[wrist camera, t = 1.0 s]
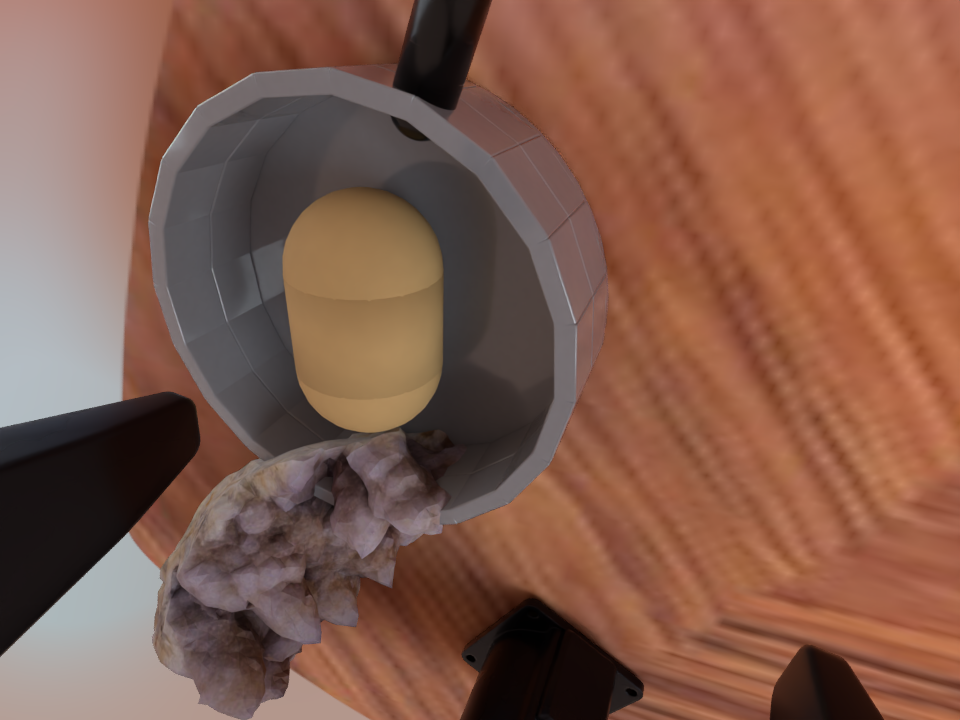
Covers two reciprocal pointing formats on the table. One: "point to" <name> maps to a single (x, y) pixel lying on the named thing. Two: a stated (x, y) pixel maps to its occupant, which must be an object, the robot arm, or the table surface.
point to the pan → (463, 242)
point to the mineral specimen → (291, 557)
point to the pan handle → (438, 53)
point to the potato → (365, 308)
